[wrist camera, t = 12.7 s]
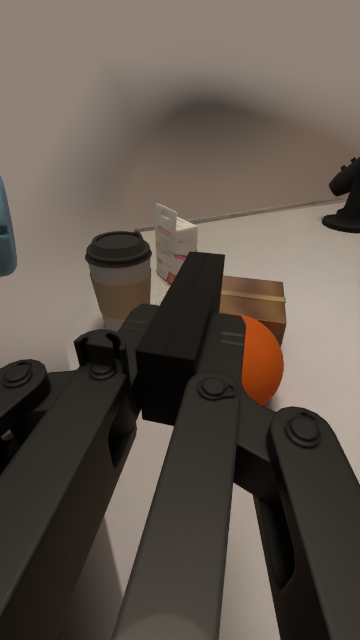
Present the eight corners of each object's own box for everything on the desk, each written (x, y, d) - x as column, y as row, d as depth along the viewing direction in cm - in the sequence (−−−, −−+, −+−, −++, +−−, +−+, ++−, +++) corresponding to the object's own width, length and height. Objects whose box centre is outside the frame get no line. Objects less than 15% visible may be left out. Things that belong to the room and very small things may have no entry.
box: (193, 358, 42) (195, 310, 38) (206, 316, 51) (208, 273, 46) (275, 372, 40) (287, 322, 36) (273, 325, 49) (283, 281, 44)
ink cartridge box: (197, 283, 61) (200, 209, 52) (176, 290, 59) (175, 213, 50) (175, 268, 67) (175, 199, 58) (156, 273, 65) (152, 202, 56)
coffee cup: (105, 351, 43) (87, 253, 35) (94, 319, 50) (77, 230, 42) (163, 336, 46) (160, 242, 38) (145, 307, 53) (139, 222, 45)
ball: (160, 410, 30) (174, 302, 31) (195, 397, 40) (205, 316, 41) (274, 435, 26) (286, 311, 27) (280, 414, 36) (289, 324, 37)
